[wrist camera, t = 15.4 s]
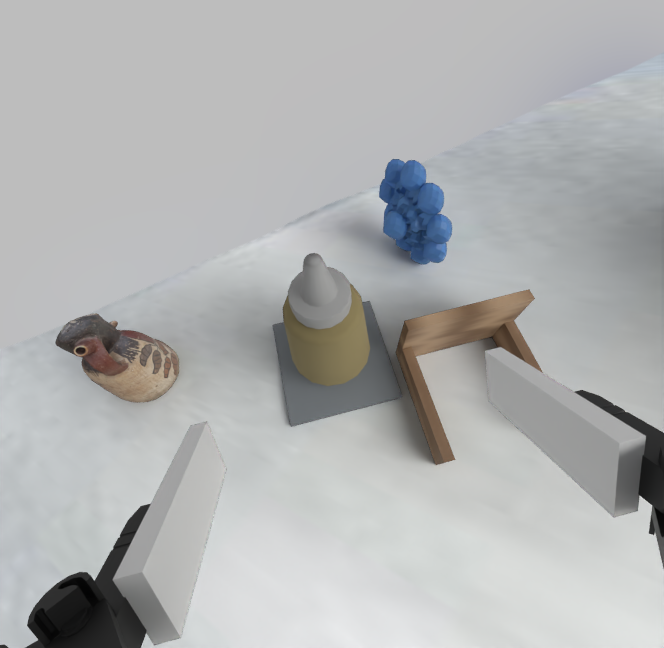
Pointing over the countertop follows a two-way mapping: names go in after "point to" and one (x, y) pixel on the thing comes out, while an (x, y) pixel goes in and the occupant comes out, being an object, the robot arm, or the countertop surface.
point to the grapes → (414, 212)
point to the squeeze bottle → (325, 324)
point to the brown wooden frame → (454, 331)
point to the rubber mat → (328, 401)
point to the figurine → (120, 358)
